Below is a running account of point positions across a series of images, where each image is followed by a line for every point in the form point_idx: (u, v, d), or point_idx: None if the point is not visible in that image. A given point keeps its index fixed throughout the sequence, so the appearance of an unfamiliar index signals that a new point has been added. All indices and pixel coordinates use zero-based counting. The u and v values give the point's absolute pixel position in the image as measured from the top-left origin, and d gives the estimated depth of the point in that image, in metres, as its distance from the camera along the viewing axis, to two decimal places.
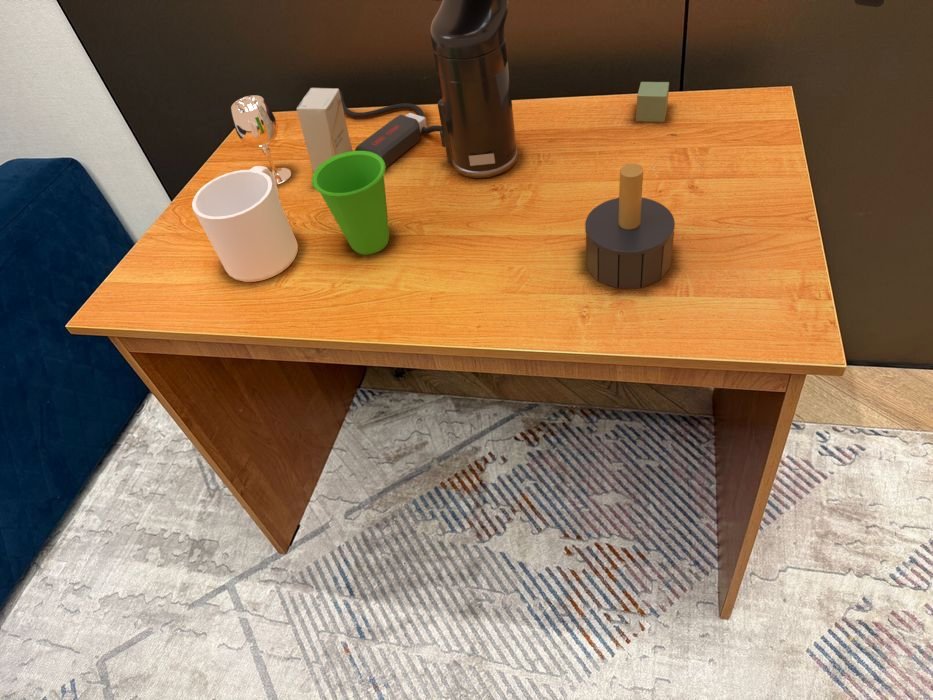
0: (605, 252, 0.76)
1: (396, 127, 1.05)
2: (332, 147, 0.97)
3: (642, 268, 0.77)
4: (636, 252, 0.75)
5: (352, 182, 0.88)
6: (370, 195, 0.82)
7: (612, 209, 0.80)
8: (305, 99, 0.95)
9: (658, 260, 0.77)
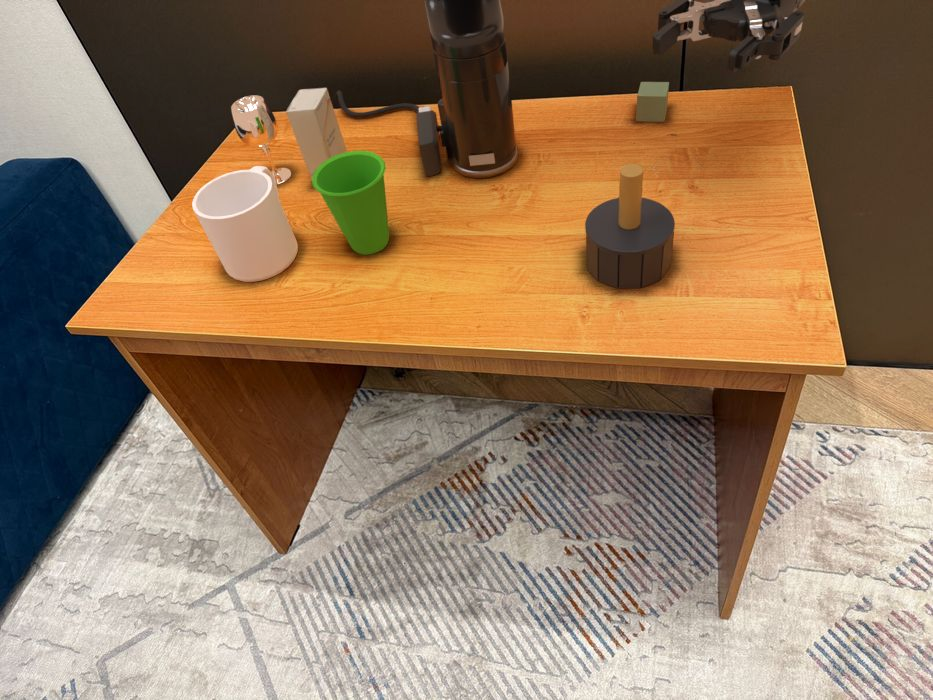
0: (605, 252, 0.76)
1: None
2: (325, 147, 0.96)
3: (642, 268, 0.77)
4: (636, 252, 0.75)
5: (352, 182, 0.88)
6: (370, 195, 0.82)
7: (612, 209, 0.80)
8: (294, 101, 0.95)
9: (658, 260, 0.77)
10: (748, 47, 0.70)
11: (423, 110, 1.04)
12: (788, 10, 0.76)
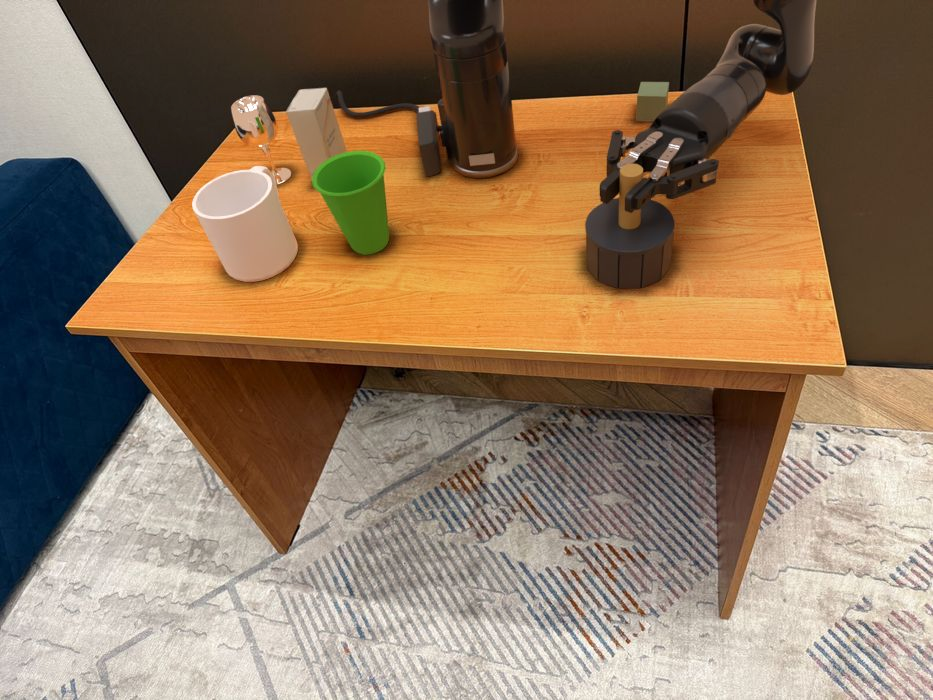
0: (605, 252, 0.76)
1: None
2: (325, 147, 0.96)
3: (642, 268, 0.77)
4: (636, 252, 0.75)
5: (352, 182, 0.88)
6: (370, 195, 0.82)
7: (612, 209, 0.80)
8: (294, 101, 0.95)
9: (658, 260, 0.77)
10: (644, 189, 0.72)
11: (423, 110, 1.04)
12: (718, 144, 0.78)
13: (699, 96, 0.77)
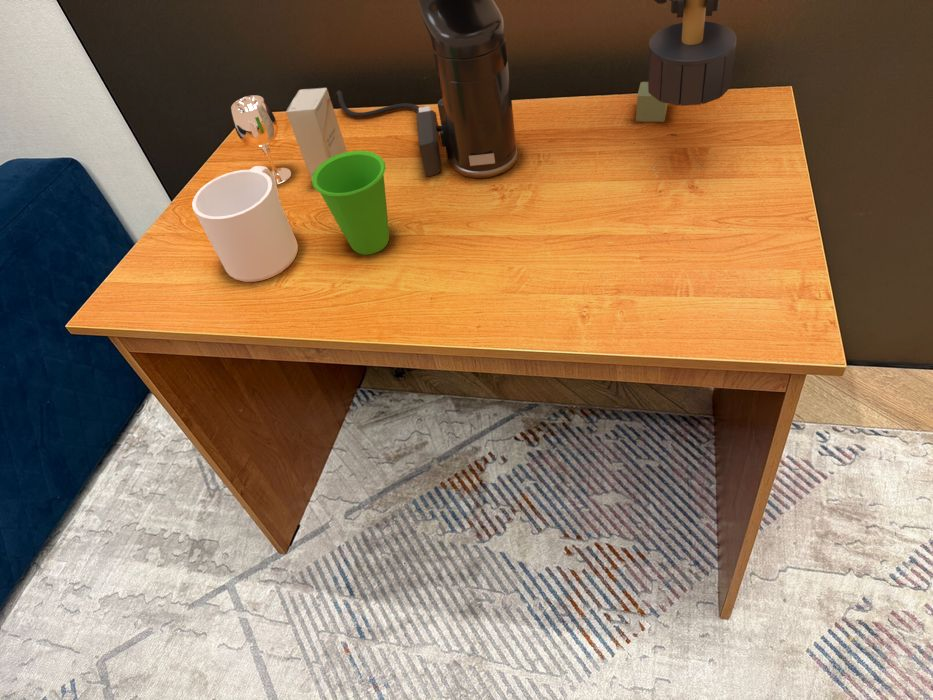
0: (691, 66, 0.79)
1: None
2: (325, 147, 0.96)
3: (723, 73, 0.81)
4: (721, 55, 0.79)
5: (352, 182, 0.88)
6: (370, 195, 0.82)
7: (666, 37, 0.83)
8: (294, 101, 0.95)
9: (731, 63, 0.81)
10: None
11: (423, 110, 1.04)
12: None
13: None
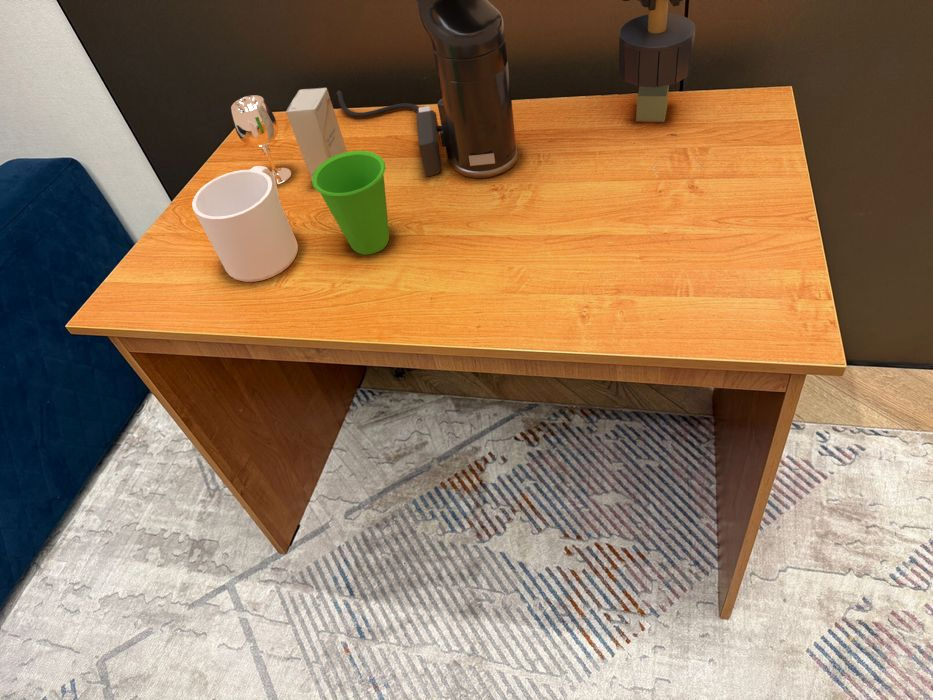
0: (666, 51, 0.90)
1: None
2: (325, 147, 0.96)
3: (689, 54, 0.93)
4: (689, 39, 0.90)
5: (352, 182, 0.88)
6: (370, 195, 0.82)
7: (633, 29, 0.94)
8: (294, 101, 0.95)
9: (693, 45, 0.94)
10: None
11: (423, 110, 1.04)
12: None
13: None
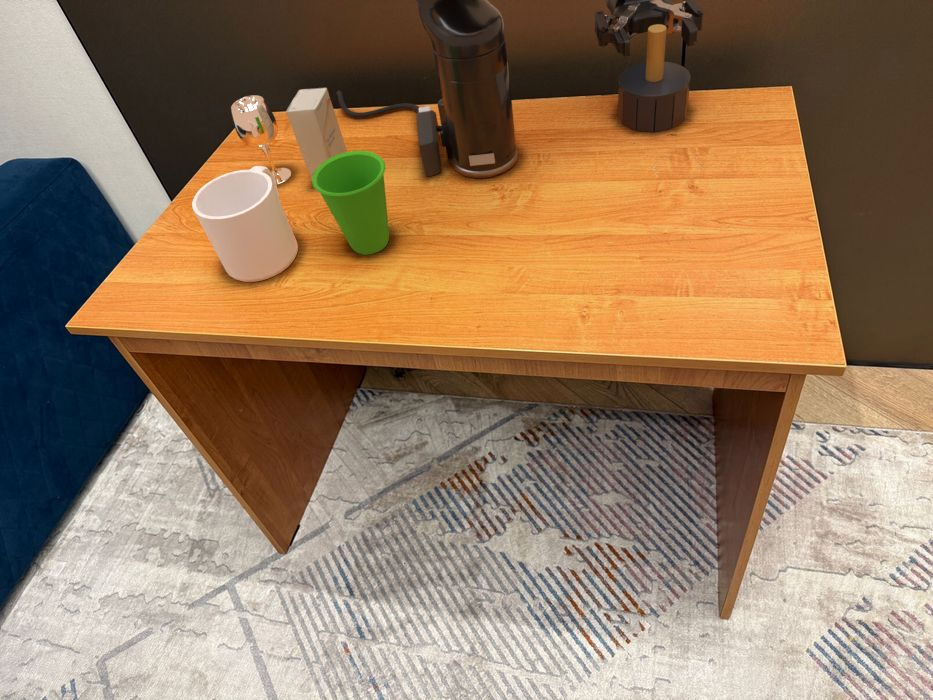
0: (662, 99, 0.95)
1: None
2: (325, 147, 0.96)
3: (685, 101, 0.98)
4: (684, 87, 0.95)
5: (352, 182, 0.88)
6: (370, 195, 0.82)
7: (631, 77, 0.99)
8: (294, 101, 0.95)
9: (688, 92, 0.99)
10: None
11: (423, 110, 1.04)
12: None
13: None
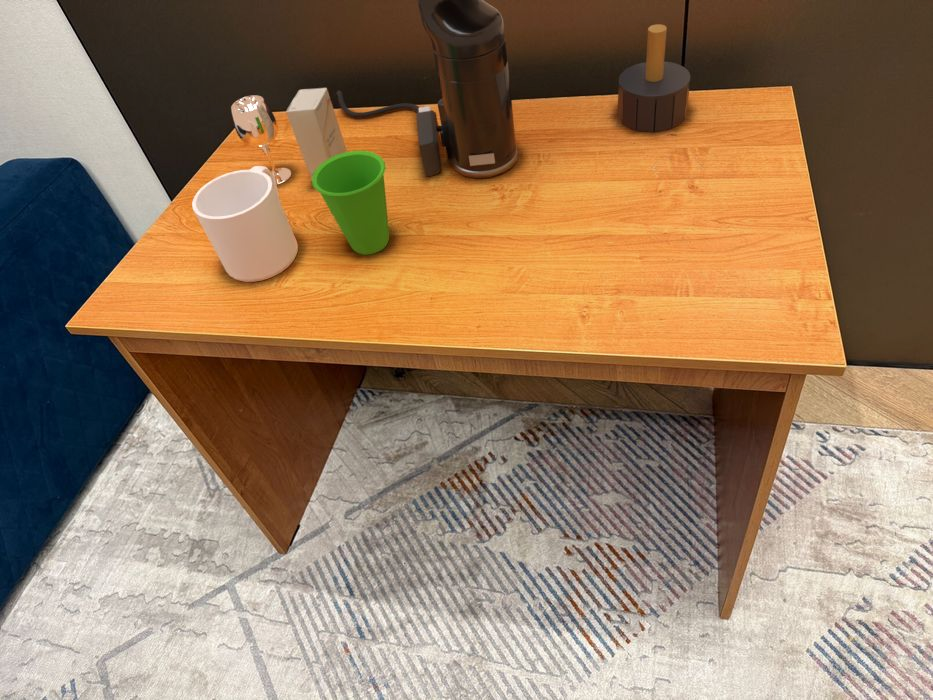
0: (662, 99, 0.95)
1: None
2: (325, 147, 0.96)
3: (685, 101, 0.98)
4: (684, 87, 0.95)
5: (352, 182, 0.88)
6: (370, 195, 0.82)
7: (631, 77, 0.99)
8: (294, 101, 0.95)
9: (688, 92, 0.99)
10: None
11: (423, 110, 1.04)
12: None
13: None
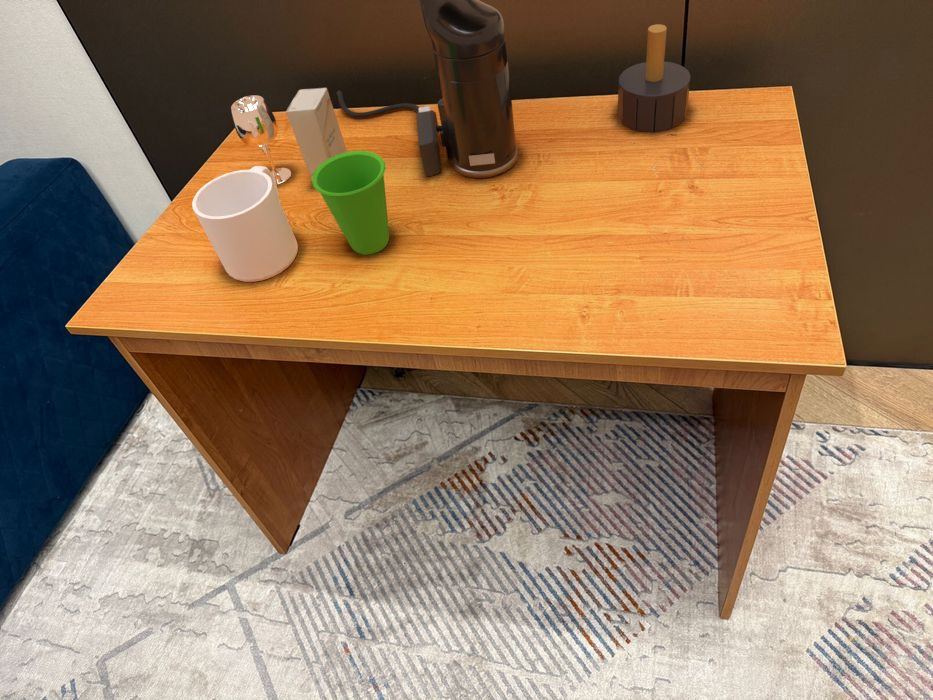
0: (662, 99, 0.95)
1: None
2: (325, 147, 0.96)
3: (685, 101, 0.98)
4: (684, 87, 0.95)
5: (352, 182, 0.88)
6: (370, 195, 0.82)
7: (631, 77, 0.99)
8: (294, 101, 0.95)
9: (688, 92, 0.99)
10: None
11: (423, 110, 1.04)
12: None
13: None
